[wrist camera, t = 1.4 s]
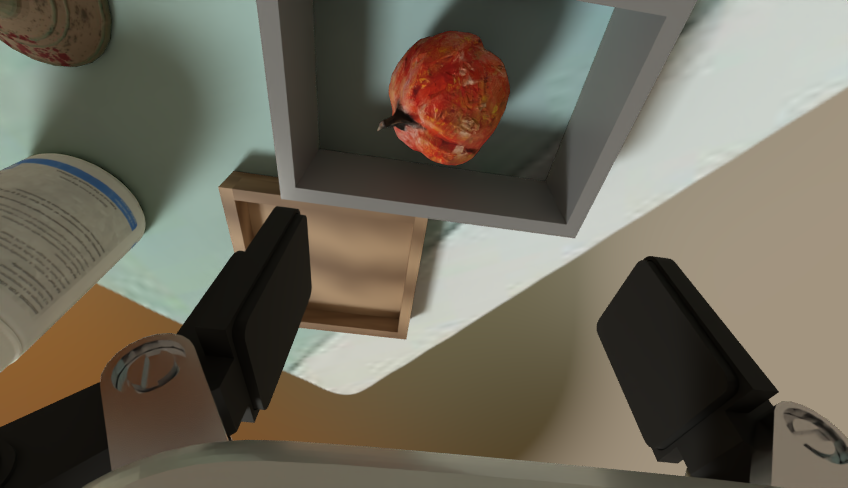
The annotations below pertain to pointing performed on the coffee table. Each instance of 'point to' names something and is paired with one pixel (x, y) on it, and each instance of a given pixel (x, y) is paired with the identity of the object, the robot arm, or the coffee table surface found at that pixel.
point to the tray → (339, 257)
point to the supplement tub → (56, 241)
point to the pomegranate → (447, 97)
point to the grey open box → (456, 188)
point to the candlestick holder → (56, 29)
